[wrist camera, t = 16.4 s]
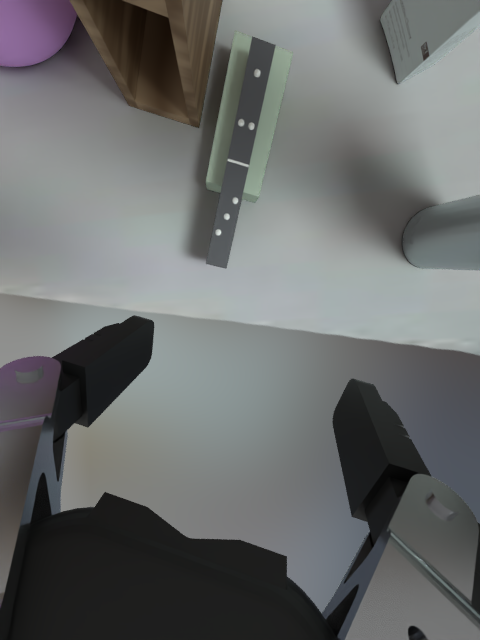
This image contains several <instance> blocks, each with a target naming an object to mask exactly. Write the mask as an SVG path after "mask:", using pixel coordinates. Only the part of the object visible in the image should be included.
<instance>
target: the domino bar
mask: <svg viewBox="0 0 480 640" xmlns="http://www.w3.org/2000/svg"><path fill="white" fill-rule="evenodd" d="M275 46H276V45H274V44H271V43H268V42H266V41H263V40H260V39H258V38H255V37H252V40H251V45H250V50H249V55H248V60H247V65H246V70H245V75H244V80H243V85H242V90H241V94H240V99H239V104H238V109H237V114H236V119H235V124H234V129H233V134H232V139H231V144H230V148H229V153H228V158H227V163H226V168H225V173H224V178H223V183H222V188H221V193H220V198H219V202H218V207H217V212H216V217H215V222H214V227H213V232H212V237H211V242H210V247H209V252H208V257H207V261H206V264H209V265H213V266H217V267H222V268H227V263H228V259H229V254H230V250H231V245H232V241H233V236H234V232H235V227H236V223H237V218H238V214H239V209H240V205H241V200H242V196H243V191H244V187H245V182H246V178H247V173H248V168H249V164H250V159H251V155H252V150H253V146H254V141H255V137H256V132H257V128H258V123H259V119H260V114H261V110H262V105H263V101H264V96H265V92H266V87H267V83H268V78H269V73H270V69H271V64H272V60H273V55H274V51H275Z"/></svg>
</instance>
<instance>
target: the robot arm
mask: <svg viewBox="0 0 480 640" xmlns="http://www.w3.org/2000/svg"><path fill="white" fill-rule="evenodd" d="M402 245H403V251H404V254H405V256H406V258H407V259H408V261H409V262H410V263H411V264H413V265H414V266H416V267H419V268H429V269H453V270H480V195H476V196H472V197H468V198H464V199H460V200H457V201H452V202H448V203H444V204H440V205H437V206H433V207H429V208H426V209H424V210H421V211H420V212H418V213H417V214H416V215H415V216H414V217H413V218H412V219H411V220H410V222H409V223H408V224H407V227H406V229H405V231H404V235H403V242H402ZM153 335H154V322H153V321H152V320H149V319H145V318H142V317H139V316H132V317H130V318H128V319H127V320H125V321H124V322H122V323H120V324H119V323H117V324H113V325H109V326H106V327H103V328H102V329H100V330H98V331H97V332H95V333H94V334H92V335H90V336H88V337H86V338H85V340H81V341H80V342H78V343H76V344H75V345H73V346H71V347H69V348H68V349H66V350H64V351H63V352H61V353H59V354H57V355H56V356H54V357H52V358H50V357H44V356H36V357H35V356H34V357H27V358H22V359H18V360H15V361H12V362H10V363H8V364H6V365H4V366H3V367H2V368H0V640H480V524H479V523H478V522H477V520H476V517H475V516H474V514H473V512H472V511H471V509H470V508H469V506H468V505H467V504H466V503H465V502H464V500H463V499H462V498H461V497H460V496H459V495H458V494H457V493H456V492H454V491H453V490H452V489H451V488H449V487H448V486H447V485H445V484H444V483H442V482H441V481H439V480H437V479H435V478H433V477H431V475H430V473H429V471H428V469H427V468H426V466H425V464H424V462H423V460H422V459H421V457H420V455H419V453H418V451H417V449H416V448H415V446H414V444H413V442H412V440H411V439H409V435H408V433H407V431H406V429H405V428H403V427H404V426H403V424H402V422H401V420H400V419H399V416H398V415H397V413H396V412H395V411H394V410H393V409H392V408H391V407H390V406H389V405H388V404H387V403H386V402H384V401H382V399H381V397H380V395H379V394H378V391H377V390H376V387H375V386H374V385H373V384H370V383H366V382H363V381H359V380H356V379H351V380H350V381H349V382H348V384H347V386H346V388H345V390H344V392H343V394H342V396H341V398H340V400H339V402H338V404H337V406H336V408H335V411H334V415H333V428H334V433H335V438H336V443H337V447H338V452H339V457H340V462H341V467H342V472H343V476H344V481H345V486H346V490H347V496H348V500H349V505H350V510H351V515H352V517H355V518H358V519H360V520H363V521H367V522H368V525H369V528H370V531H369V532H368V534H367V535H366V536H365V538H364V540H363V542H362V544H361V545H360V547H359V549H358V551H357V553H356V555H355V557H354V559H353V560H352V562H351V564H350V566H349V568H348V570H347V572H346V574H345V575H344V577H343V579H342V581H341V583H340V585H339V587H338V589H337V590H336V592H335V594H334V595H333V597H332V598H331V600H330V602H329V603H328V604H327V606H326V607H325V609H324V610H323V612H322V614H321V612H320V611H319V609H318V608H317V607H316V605H315V604H314V603H313V601H312V600H311V599H310V598H309V597H308V596H307V595H306V593H305V592H304V591H303V590H302V589H301V588H300V587H299V586H298V585H296V583H294V582H293V581H292V580H291V579H290V578H288V577H287V556H284V555H281V554H278V553H275V552H272V551H270V550H267V549H264V548H261V547H258V546H256V545H252V544H250V543H247V542H244V541H241V540H221V539H191V538H188V537H186V536H184V535H183V534H181V533H180V532H179V531H177V530H176V529H175V528H174V527H172V526H171V525H170V524H168V523H167V522H166V521H164V520H163V519H162V518H161V517H159V516H158V515H157V514H155V513H154V512H153V511H152V510H150V509H149V508H148V507H146V506H143V505H140V504H137V503H134V502H131V501H129V500H126V499H123V498H120V497H117V496H114V495H112V494H109V493H106V492H105V493H104V494H103V495H102V497H101V498H100V500H99V501H98V503H97V504H96V506H95V507H87V508H77V509H73V510H68V511H63V512H61V504H60V503H61V502H60V501H61V486H62V477H63V469H64V461H65V453H66V445H67V437H68V435H67V434H68V433H67V429H69V428H70V427H71V426H72V425H73V424H74V423H76V424H79V425H83V426H85V427H89V426H90V425H91V424H92V423H93V422H94V421H95V420H96V419H97V418H98V417H99V416H100V415H101V413H103V411H104V410H105V409H106V408H107V407H108V406H109V405H110V404H111V403H112V402H113V401H114V400H115V399H116V398H117V397H118V396H119V395H120V394H121V393H122V392H123V391H124V390H125V389H126V388H127V386H129V384H130V383H131V382H132V381H133V380H134V379H135V378H136V377H137V376H138V375H139V374H140V373H141V372H142V371H143V370H144V369H145V368H146V367H147V365H148V363H149V361H150V359H151V355H152V347H153Z"/></svg>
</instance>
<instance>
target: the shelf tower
mask: <svg viewBox="0 0 480 640" xmlns="http://www.w3.org/2000/svg"><path fill="white" fill-rule="evenodd" d="M70 2H71V4H72V6H73V7H74V9H75V11H76V13H77V15H78V16H79V18H80V20H81V22H82V23H83V25H84V27H85V29H86V30H87V32H88V34H89V36H90V37H91V39H92V41H93V43H94V44H95V46H96V48H97V50H98V52H99V53H100V55H101V57H102V59H103V60H104V62H105V64H106V66H107V67H108V69H109V71H110V73H111V74H112V76H113V78H114V80H115V81H116V83H117V85H118V87H119V89H120V90H121V92H122V94H123V96H124V97H125V99H126V101H127V103H128V104H129V106H132V107H135V108H138V109H141V110H144V111H147V112H151V113H154V114H157V115H160V116H163V117H166V118H169V119H173V120H176V121H179V122H182V123H185V124H188V125H191V126H195V127H198V128H199V126H200V121H201V115H202V110H203V104H204V99H205V93H206V88H207V82H208V77H209V71H210V66H211V60H212V55H213V49H214V44H215V38H216V33H217V27H218V22H219V16H220V11H221V5H222V0H70Z"/></svg>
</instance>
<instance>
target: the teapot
mask: <svg viewBox="0 0 480 640" xmlns="http://www.w3.org/2000/svg"><path fill="white" fill-rule="evenodd" d="M76 17H77V13H76V11H75V9H74V7H73V6H72V4H71V2H70V0H0V65H1V66H7V67H22V66H30V65H34V64H37V63H40V62H42V61H44V60H46V59H48V58H50V57H51V56H53V55H54V54H55V53H57V52H58V51H59V50H60V49H61V48H62V46H63V45H64V44H65V42H66V41H67V39H68V37H69V35H70V33H71V32H72V29H73V26H74V23H75V21H76Z"/></svg>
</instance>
